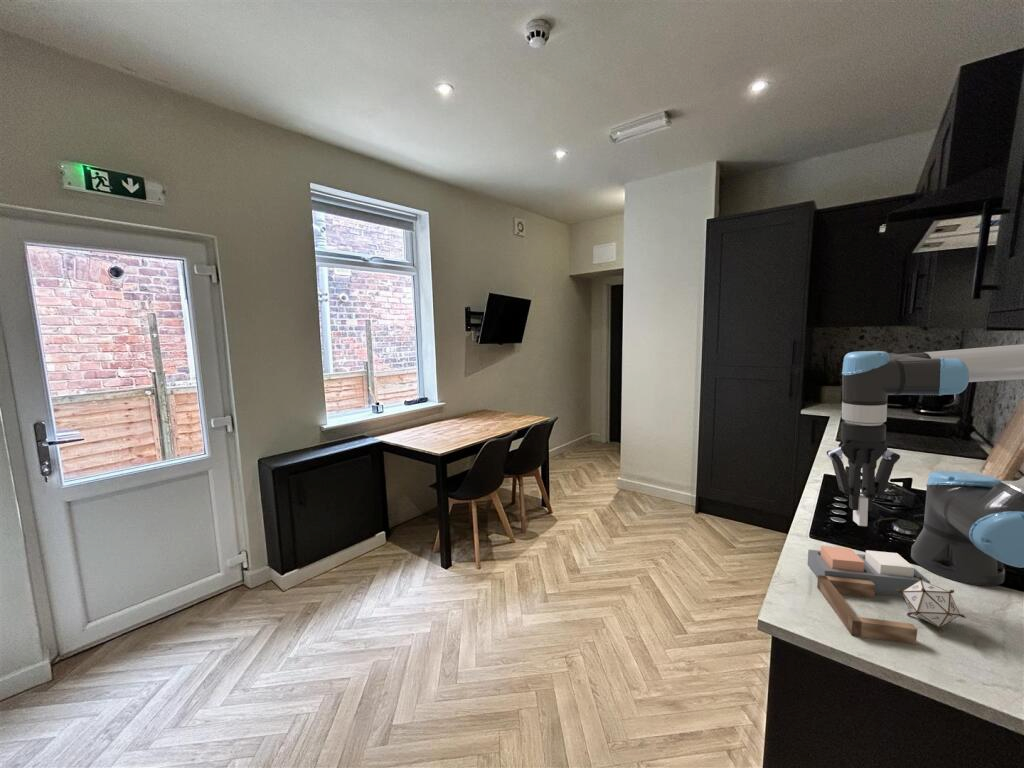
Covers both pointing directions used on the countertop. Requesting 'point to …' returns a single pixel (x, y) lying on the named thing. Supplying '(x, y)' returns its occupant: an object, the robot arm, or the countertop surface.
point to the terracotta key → (842, 558)
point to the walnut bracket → (861, 625)
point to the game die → (930, 603)
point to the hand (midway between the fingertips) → (859, 523)
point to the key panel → (864, 575)
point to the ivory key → (889, 563)
